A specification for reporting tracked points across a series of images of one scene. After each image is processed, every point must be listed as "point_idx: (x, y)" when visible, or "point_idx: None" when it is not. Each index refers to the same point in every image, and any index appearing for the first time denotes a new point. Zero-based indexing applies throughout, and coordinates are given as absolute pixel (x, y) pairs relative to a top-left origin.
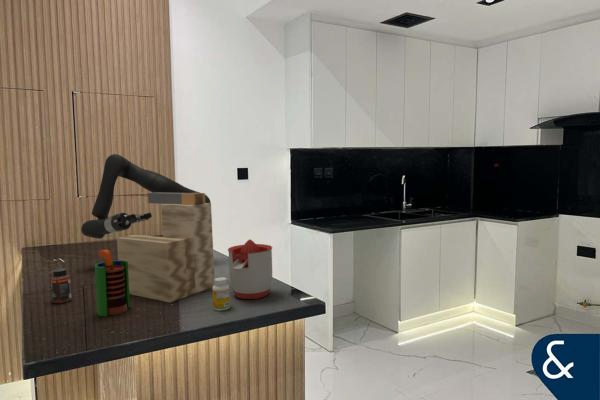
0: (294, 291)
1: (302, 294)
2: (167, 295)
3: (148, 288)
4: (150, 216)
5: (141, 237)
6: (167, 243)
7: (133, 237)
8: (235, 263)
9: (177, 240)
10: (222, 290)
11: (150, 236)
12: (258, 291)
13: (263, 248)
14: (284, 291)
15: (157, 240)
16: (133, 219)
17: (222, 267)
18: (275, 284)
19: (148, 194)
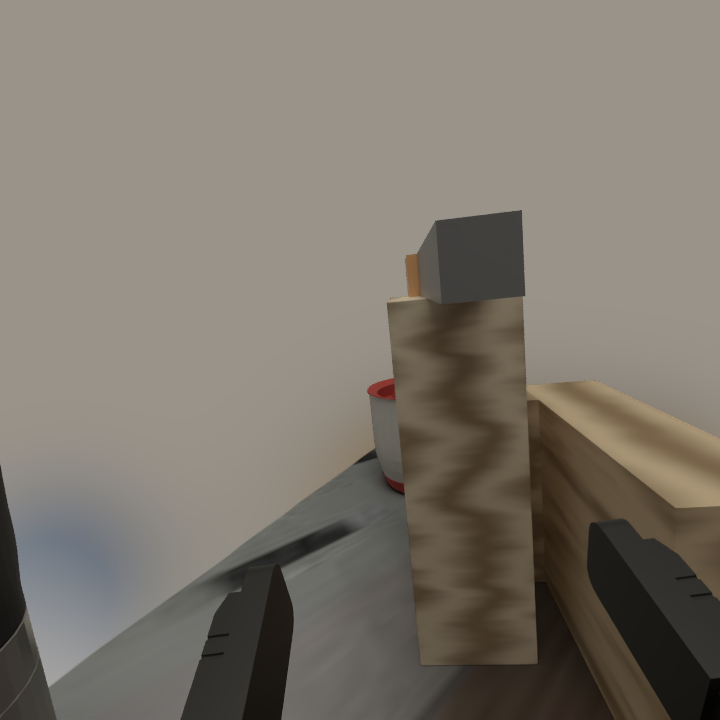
0: (366, 458)
1: (375, 449)
2: None
3: None
4: (291, 602)
5: (652, 443)
6: (591, 381)
7: (701, 459)
8: None
9: (546, 385)
10: None
11: (598, 439)
12: None
13: (378, 393)
14: (373, 464)
15: (603, 399)
16: (624, 619)
17: (140, 696)
18: (336, 486)
19: (520, 223)
